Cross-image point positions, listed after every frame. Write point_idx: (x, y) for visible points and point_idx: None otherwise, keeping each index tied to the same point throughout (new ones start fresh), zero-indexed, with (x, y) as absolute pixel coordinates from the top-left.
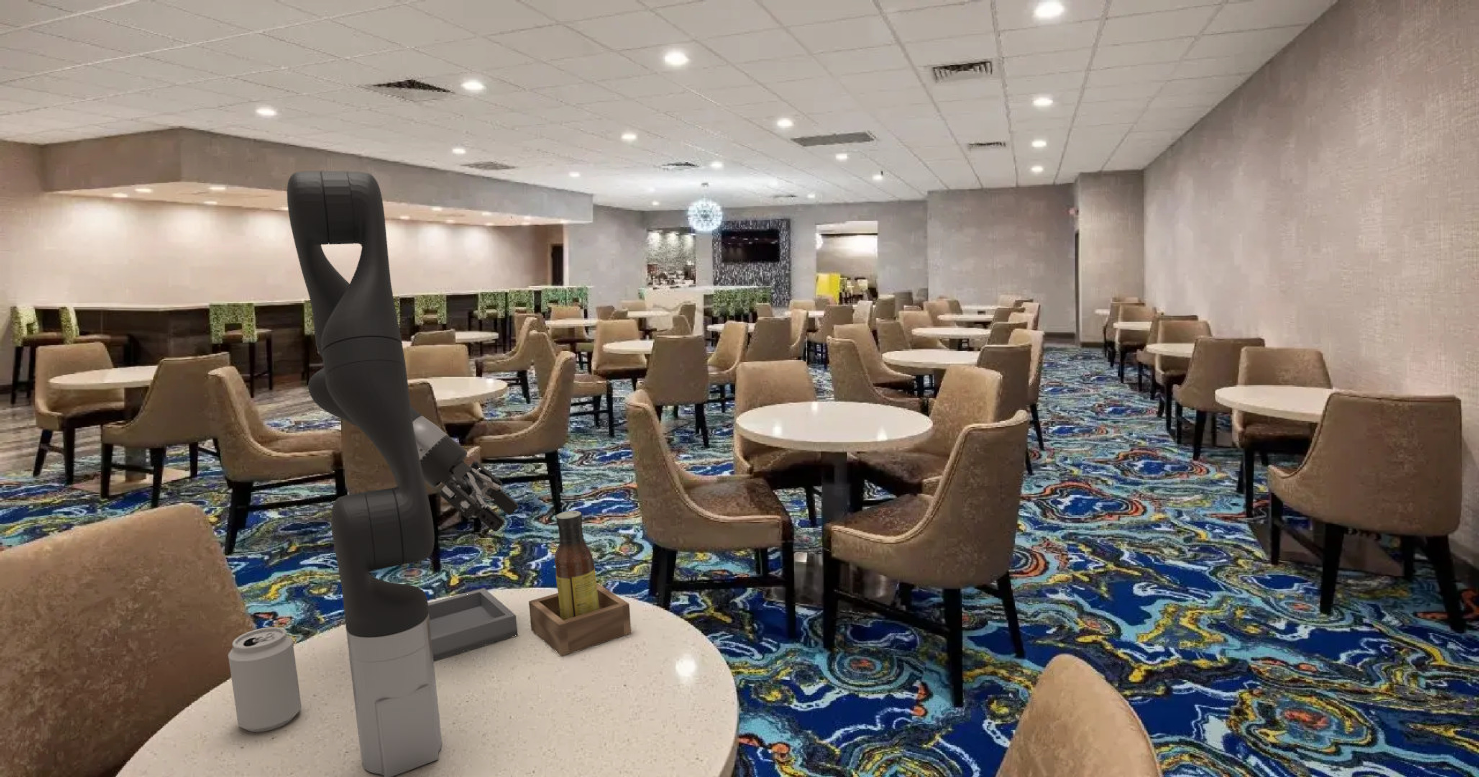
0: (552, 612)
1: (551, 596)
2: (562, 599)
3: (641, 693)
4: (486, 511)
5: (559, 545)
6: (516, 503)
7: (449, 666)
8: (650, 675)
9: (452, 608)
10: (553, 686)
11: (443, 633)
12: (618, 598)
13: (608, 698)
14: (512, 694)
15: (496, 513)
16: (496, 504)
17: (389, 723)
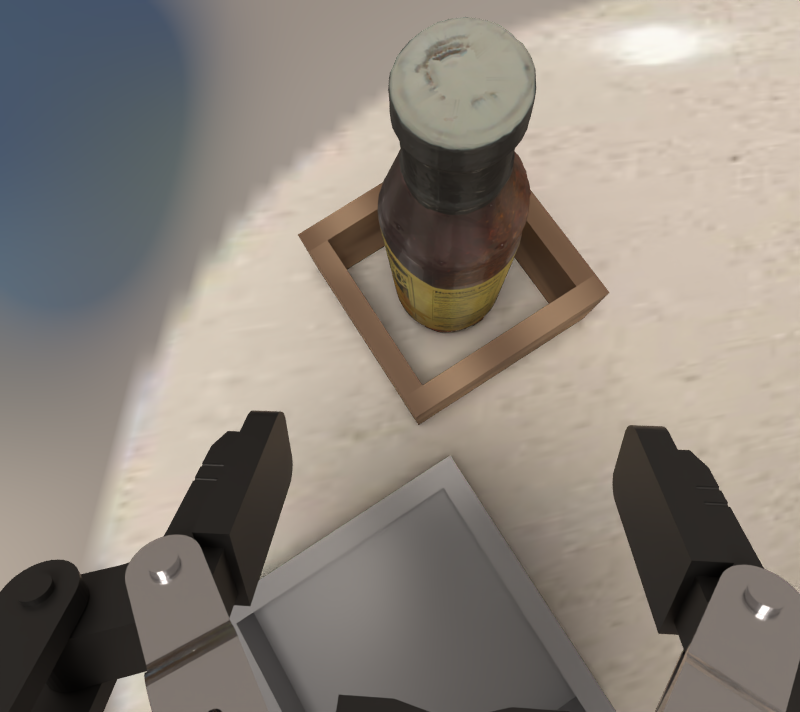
0: (515, 327)
1: (387, 352)
2: (495, 290)
3: (772, 122)
4: (732, 554)
5: (458, 224)
6: (258, 418)
7: (617, 610)
8: (692, 111)
9: (291, 700)
10: (737, 312)
11: (560, 665)
12: None
13: (794, 185)
14: (774, 402)
15: (661, 479)
16: (262, 568)
17: None
